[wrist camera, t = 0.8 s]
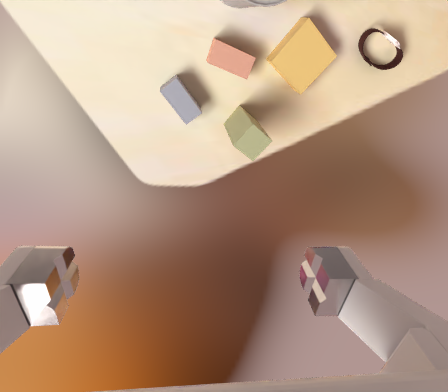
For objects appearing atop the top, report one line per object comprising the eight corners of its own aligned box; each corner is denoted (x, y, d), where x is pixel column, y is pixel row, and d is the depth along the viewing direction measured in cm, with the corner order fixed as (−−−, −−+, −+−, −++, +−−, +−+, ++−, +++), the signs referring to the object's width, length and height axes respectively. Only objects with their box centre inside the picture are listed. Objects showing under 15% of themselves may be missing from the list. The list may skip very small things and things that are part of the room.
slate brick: (160, 86, 40) (159, 91, 38) (176, 74, 40) (176, 78, 37) (185, 118, 43) (186, 124, 41) (200, 107, 43) (201, 113, 40)
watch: (400, 47, 42) (418, 49, 39) (379, 75, 44) (393, 80, 41) (369, 18, 39) (385, 19, 36) (347, 50, 41) (361, 53, 38)
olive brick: (223, 123, 45) (233, 145, 37) (239, 105, 43) (253, 124, 36) (240, 137, 47) (253, 161, 39) (256, 120, 45) (272, 141, 38)
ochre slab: (265, 58, 40) (271, 61, 38) (300, 17, 38) (309, 17, 36) (293, 89, 44) (300, 94, 41) (327, 53, 41) (336, 56, 39)
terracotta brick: (206, 59, 39) (208, 62, 37) (213, 37, 38) (216, 39, 35) (242, 75, 41) (246, 79, 39) (250, 55, 40) (255, 57, 37)
